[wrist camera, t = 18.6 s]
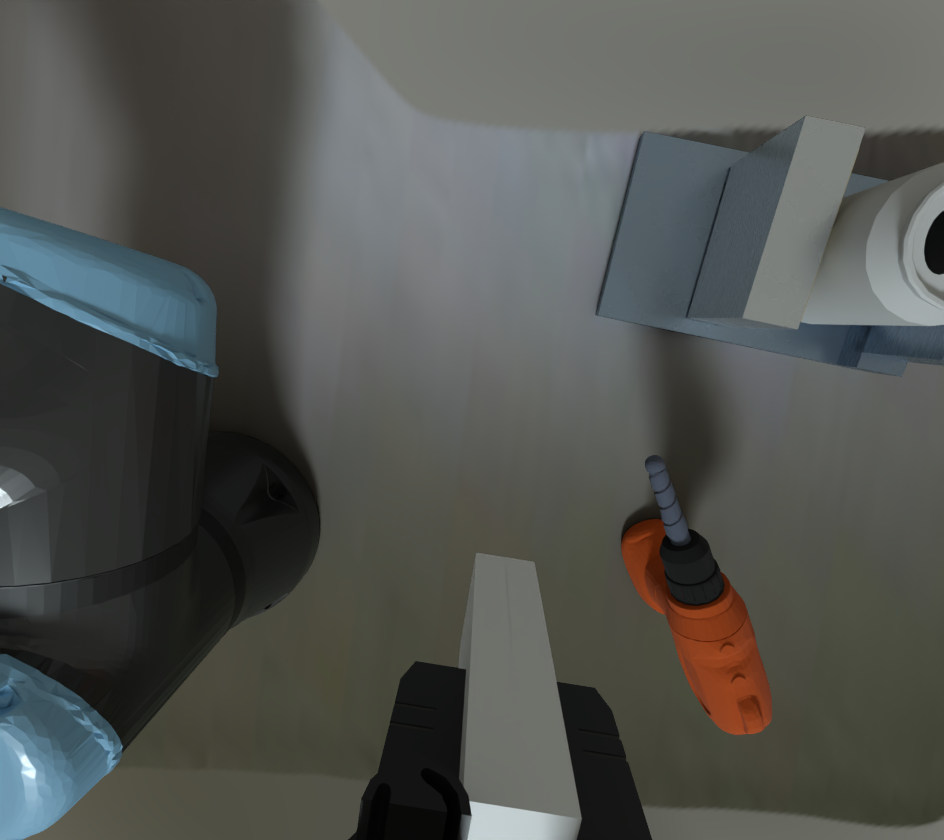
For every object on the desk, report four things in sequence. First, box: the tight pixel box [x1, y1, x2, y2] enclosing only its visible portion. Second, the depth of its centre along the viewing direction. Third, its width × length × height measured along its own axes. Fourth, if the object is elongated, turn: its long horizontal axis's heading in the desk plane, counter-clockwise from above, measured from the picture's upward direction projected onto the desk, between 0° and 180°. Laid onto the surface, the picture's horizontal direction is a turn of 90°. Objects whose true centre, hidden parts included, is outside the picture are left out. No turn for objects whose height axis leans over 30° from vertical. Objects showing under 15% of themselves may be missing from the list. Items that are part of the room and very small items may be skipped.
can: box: [801, 163, 944, 326], centre depth 27 cm, size 8×8×12 cm
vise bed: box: [596, 131, 944, 377], centre depth 30 cm, size 20×12×9 cm, turn 78°
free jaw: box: [687, 116, 866, 329], centre depth 29 cm, size 4×10×8 cm, turn 169°
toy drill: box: [621, 455, 772, 735], centre depth 31 cm, size 5×19×15 cm, turn 23°
